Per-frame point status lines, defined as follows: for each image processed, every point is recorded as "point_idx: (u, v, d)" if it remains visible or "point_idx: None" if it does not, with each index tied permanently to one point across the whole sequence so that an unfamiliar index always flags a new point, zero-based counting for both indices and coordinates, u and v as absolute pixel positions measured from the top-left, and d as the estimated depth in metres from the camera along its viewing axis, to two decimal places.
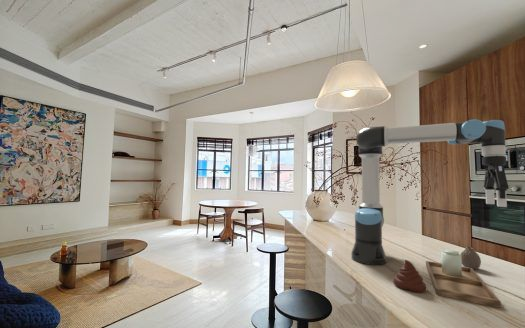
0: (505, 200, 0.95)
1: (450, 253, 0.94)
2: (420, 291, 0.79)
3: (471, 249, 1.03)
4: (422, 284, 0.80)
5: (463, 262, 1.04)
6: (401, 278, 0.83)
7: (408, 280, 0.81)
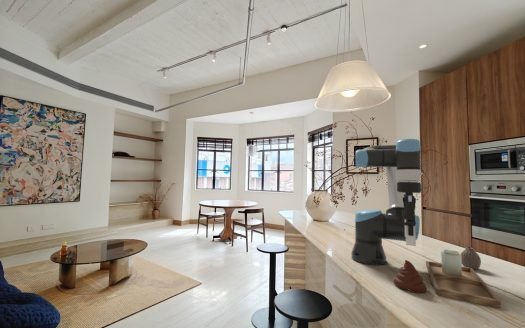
0: (414, 237, 0.78)
1: (450, 253, 0.94)
2: (420, 291, 0.79)
3: (471, 249, 1.03)
4: (422, 284, 0.80)
5: (463, 262, 1.04)
6: (401, 278, 0.83)
7: (408, 280, 0.81)
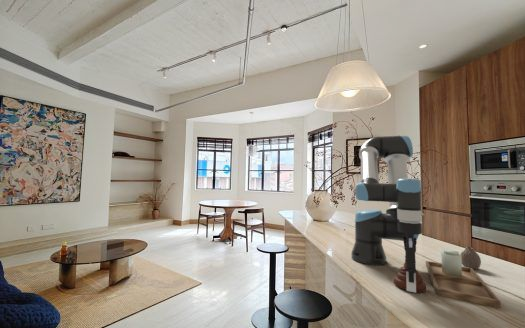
0: (414, 284, 0.79)
1: (450, 253, 0.94)
2: (420, 291, 0.79)
3: (471, 249, 1.03)
4: (422, 284, 0.80)
5: (463, 262, 1.04)
6: (401, 278, 0.83)
7: None
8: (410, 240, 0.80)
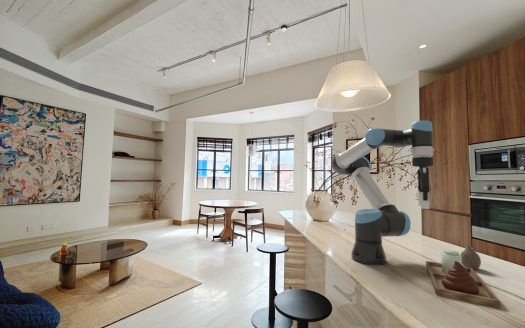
0: (428, 202, 0.93)
1: (450, 253, 0.94)
2: (474, 293, 0.77)
3: (471, 249, 1.03)
4: (475, 286, 0.78)
5: (463, 262, 1.04)
6: (452, 280, 0.80)
7: (460, 282, 0.79)
8: None
